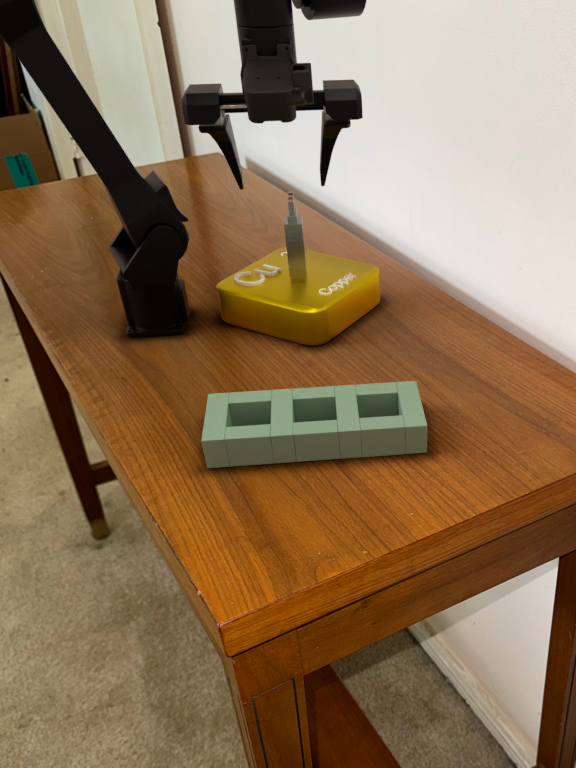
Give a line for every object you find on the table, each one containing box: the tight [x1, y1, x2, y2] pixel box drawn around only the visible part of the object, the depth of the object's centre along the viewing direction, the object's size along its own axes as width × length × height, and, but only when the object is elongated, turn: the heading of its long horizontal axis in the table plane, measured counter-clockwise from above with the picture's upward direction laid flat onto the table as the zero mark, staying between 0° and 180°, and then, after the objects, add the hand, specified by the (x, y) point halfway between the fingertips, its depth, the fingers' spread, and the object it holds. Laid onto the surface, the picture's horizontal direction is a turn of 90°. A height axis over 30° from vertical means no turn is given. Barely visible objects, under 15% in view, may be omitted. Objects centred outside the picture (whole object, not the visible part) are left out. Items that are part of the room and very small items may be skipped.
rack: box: [200, 380, 428, 469], centre depth 71 cm, size 20×8×3 cm, turn 97°
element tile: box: [215, 246, 381, 347], centre depth 91 cm, size 15×15×5 cm
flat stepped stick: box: [283, 190, 307, 277], centre depth 87 cm, size 2×4×8 cm, turn 7°
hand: (282, 186), depth 87 cm, fingers open, 9 cm apart
